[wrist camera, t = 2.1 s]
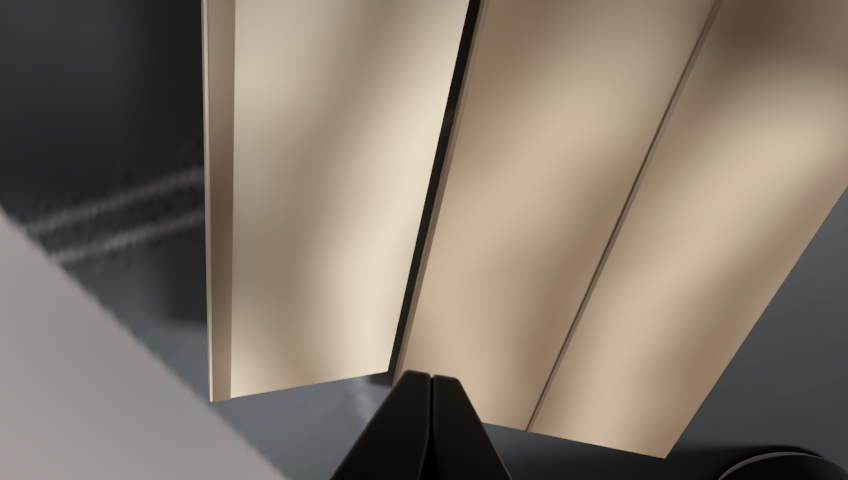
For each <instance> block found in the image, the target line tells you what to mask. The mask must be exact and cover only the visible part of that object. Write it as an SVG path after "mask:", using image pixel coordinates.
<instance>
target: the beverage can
mask: <svg viewBox="0 0 848 480" xmlns="http://www.w3.org/2000/svg"><path fill="white" fill-rule="evenodd" d="M718 480H848V474H847V473H846V472H845V471H844V470H843V469H842V468H841V467H840V466H838V465H837V464H835V463H833V462H831V461H829V460H827V459H824V458H820V457H816V456H812V455H808V454H804V453H798V452H775V453H768V454H763V455H759V456H755V457H752V458H750V459H747V460H744V461H742V462H740V463H738V464H736V465H735V466H733V467H731V468H730V469H729V470H727V471H726V472H725V473H724V474H723V475H722V476H721V477H720V478H719V479H718Z"/></svg>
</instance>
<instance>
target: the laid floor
mask: <svg viewBox="0 0 848 480" xmlns="http://www.w3.org/2000/svg"><path fill="white" fill-rule="evenodd" d="M847 185H848V0H480V4H479V9H478V13H477V17H476V22H475V26H474V30H473V35H472V39H471V43H470V48H469V52H468V56H467V61H466V65H465V69H464V74H463V78H462V82H461V87H460V91H459V95H458V100H457V104H456V108H455V113H454V117H453V121H452V126H451V130H450V134H449V139H448V143H447V148H446V152H445V156H444V161H443V165H442V169H441V174H440V178H439V182H438V187H437V191H436V195H435V200H434V204H433V208H432V213H431V217H430V221H429V226H428V230H427V234H426V239H425V243H424V247H423V252H422V256H421V260H420V265H419V269H418V273H417V278H416V282H415V286H414V291H413V295H412V299H411V304H410V308H409V313H408V317H407V321H406V326H405V330H404V334H403V339H402V343H401V347H400V352H399V356H398V360H397V365H396V369H395V373H394V378H393V382H392V387H391V389H392V388H393V387H394V385H395V384H396V382H397V381H398V379H399V378H400V376H401V375H402V373H403V372H404V371H405V370H408V369H410V370H415V371H421V372H427V373H429V374H430V375H431V377H432V376H433V375H435V374H439V375H445V376H451V377H455V378H457V379H459V381H460V382H461V384H462V386H463V388H464V390H465V392H466V393H467V395H468V397H469V399H470V401H471V403H472V405H473V407H474V409H475V410H476V412H477V414H478V416H479V418H480V420H481V422H485V423H490V424H495V425H500V426H505V427H510V428H515V429H520V430H525V431H526V432H529V433H530V432H535V433H540V434H545V435H550V436H555V437H560V438H565V439H570V440H575V441H580V442H585V443H590V444H595V445H600V446H605V447H610V448H615V449H620V450H625V451H630V452H635V453H640V454H645V455H650V456H655V457H660V458H666V456H667V455H668V453H669V452H670V450H671V449H672V447H673V446H674V444H675V443H676V441H677V440H678V438H679V437H680V435H681V434H682V432H683V431H684V429H685V428H686V426H687V425H688V423H689V422H690V420H691V419H692V417H693V416H694V414H695V413H696V411H697V410H698V408H699V407H700V405H701V404H702V402H703V401H704V399H705V398H706V396H707V395H708V393H709V392H710V390H711V389H712V387H713V386H714V384H715V383H716V381H717V380H718V378H719V377H720V375H721V374H722V372H723V371H724V369H725V368H726V366H727V365H728V363H729V362H730V360H731V359H732V358H733V356H734V355H735V353H736V352H737V350H738V349H739V347H740V346H741V344H742V343H743V341H744V340H745V338H746V337H747V335H748V334H749V332H750V331H751V329H752V328H753V326H754V325H755V323H756V322H757V320H758V319H759V317H760V316H761V314H762V313H763V311H764V310H765V308H766V307H767V305H768V304H769V302H770V301H771V299H772V298H773V296H774V295H775V293H776V292H777V290H778V289H779V287H780V286H781V284H782V283H783V281H784V280H785V278H786V277H787V275H788V274H789V272H790V271H791V269H792V268H793V266H794V265H795V263H796V262H797V260H798V259H799V257H800V256H801V254H802V253H803V251H804V250H805V248H806V247H807V245H808V244H809V242H810V241H811V239H812V238H813V236H814V235H815V233H816V232H817V230H818V229H819V227H820V226H821V224H822V223H823V221H824V220H825V218H826V217H827V215H828V214H829V212H830V211H831V209H832V208H833V206H834V205H835V203H836V202H837V200H838V199H839V197H840V196H841V194H842V193H843V191H844V190H845V188H846V187H847Z"/></svg>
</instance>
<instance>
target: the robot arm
mask: <svg viewBox="0 0 848 480" xmlns="http://www.w3.org/2000/svg"><path fill="white" fill-rule="evenodd" d="M329 480H512V478H511V476H510V474H509V472H508V471H507V469H506V467H505V465H504V463H503V461H502V459H501V457H500V456H499V454H498V452H497V450H496V448H495V446H494V444H493V442H492V440H491V439H490V437H489V435H488V433H487V431H486V429H485V427H484V425H483V424H482V422H481V420H480V418H479V416H478V414H477V412H476V410H475V409H474V407H473V405H472V403H471V401H470V399H469V397H468V395H467V393H466V392H465V390H464V388H463V386H462V384H461V382H460V381H459V379H457V378H455V377H451V376H445V375H439V374H435V375H433V376H432V377H431V375H430V374H429V373H427V372H421V371H415V370H410V369H408V370H405V371H404V372H403V373H402V375H401V376H400V378H399V379H398V381H397V382H396V384H395V385H394V387H393V388H392V389H391V391H390V392H389V394H388V395H387V397H386V398H385V400H384V401H383V402H382V404H381V405H380V407H379V408H378V410H377V411H376V413H375V414H374V415H373V417H372V418H371V420H370V421H369V423H368V424H367V426H366V427H365V429H364V430H363V431H362V433H361V434H360V436H359V437H358V439H357V440H356V442H355V443H354V444H353V446H352V447H351V449H350V450H349V452H348V453H347V455H346V456H345V457H344V459H343V460H342V462H341V463H340V465H339V466H338V468H337V469H336V471H335V472H334V473H333V475H332V476H331V478H330V479H329Z"/></svg>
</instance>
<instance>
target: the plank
mask: <svg viewBox="0 0 848 480" xmlns="http://www.w3.org/2000/svg"><path fill="white" fill-rule="evenodd" d="M468 3H469V0H201V19H202V72H203V125H204V178H205V230H206V283H207V336H208V380H209V393H210V401H213V402H219V401H225V400H230V399H231V398H234V397H240V396H245V395H251V394H257V393H263V392H269V391H275V390H281V389H287V388H293V387H299V386H305V385H311V384H317V383H323V382H328V381H334V380H340V379H346V378H352V377H358V376H364V375H370V374H376V373H382V372H387V371H388V366H389V362H390V357H391V353H392V348H393V344H394V339H395V335H396V330H397V326H398V321H399V317H400V312H401V307H402V303H403V298H404V294H405V289H406V285H407V280H408V276H409V271H410V267H411V262H412V258H413V253H414V248H415V244H416V239H417V235H418V230H419V226H420V221H421V217H422V212H423V208H424V203H425V199H426V194H427V189H428V185H429V180H430V176H431V171H432V167H433V162H434V158H435V153H436V149H437V144H438V139H439V135H440V130H441V126H442V121H443V117H444V112H445V108H446V103H447V99H448V94H449V90H450V85H451V80H452V76H453V71H454V67H455V62H456V58H457V53H458V49H459V44H460V40H461V35H462V31H463V26H464V21H465V17H466V12H467V8H468Z"/></svg>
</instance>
